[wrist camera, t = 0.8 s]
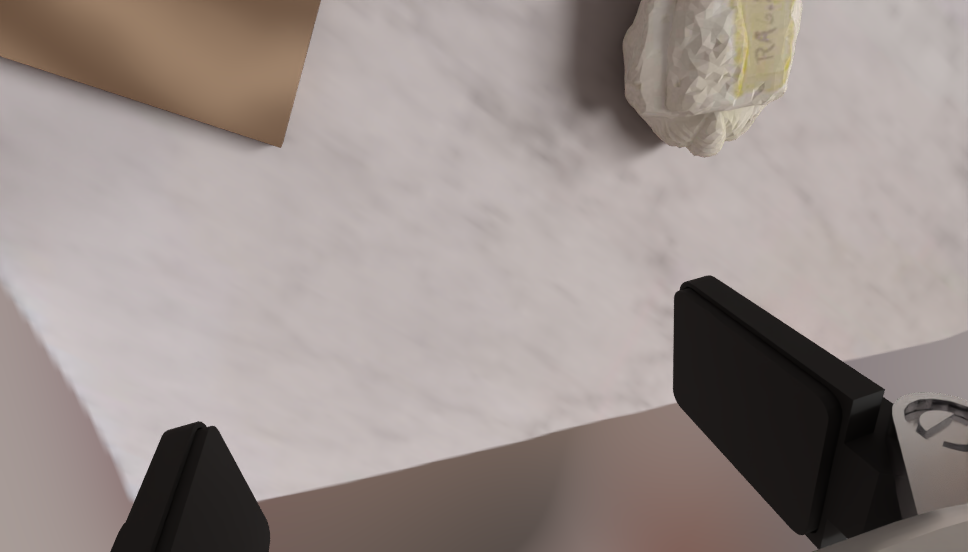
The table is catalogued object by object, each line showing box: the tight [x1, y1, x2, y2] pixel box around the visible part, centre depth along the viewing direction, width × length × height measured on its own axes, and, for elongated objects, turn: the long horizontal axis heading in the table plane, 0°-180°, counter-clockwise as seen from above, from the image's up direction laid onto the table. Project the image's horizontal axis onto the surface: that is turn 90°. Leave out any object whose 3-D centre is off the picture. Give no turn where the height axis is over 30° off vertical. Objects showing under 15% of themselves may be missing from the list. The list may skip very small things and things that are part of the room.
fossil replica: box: [622, 0, 802, 158], centre depth 32 cm, size 12×8×10 cm
